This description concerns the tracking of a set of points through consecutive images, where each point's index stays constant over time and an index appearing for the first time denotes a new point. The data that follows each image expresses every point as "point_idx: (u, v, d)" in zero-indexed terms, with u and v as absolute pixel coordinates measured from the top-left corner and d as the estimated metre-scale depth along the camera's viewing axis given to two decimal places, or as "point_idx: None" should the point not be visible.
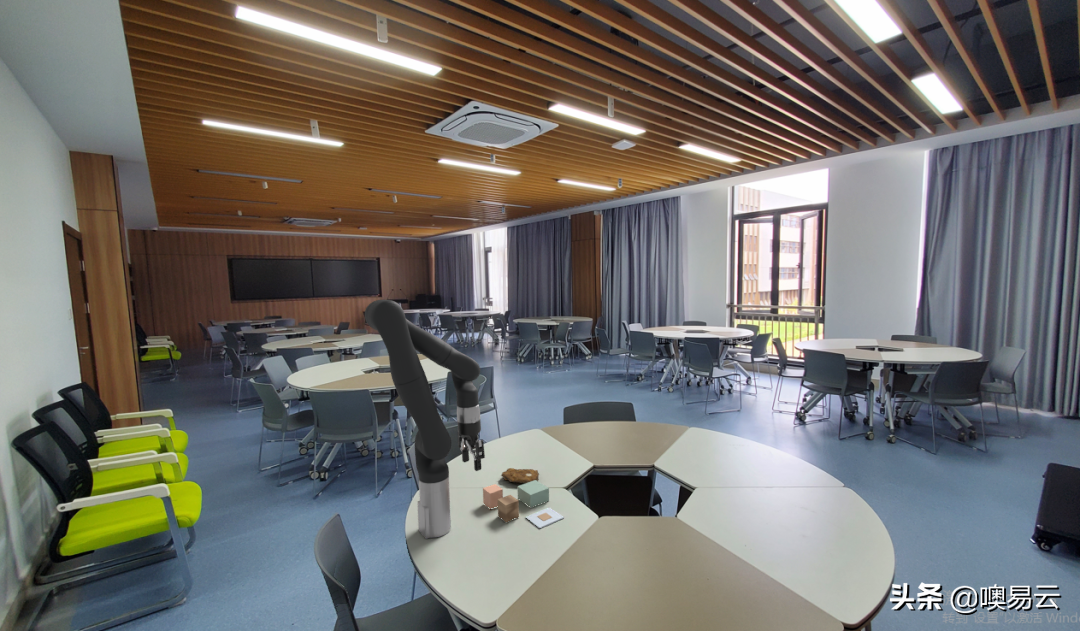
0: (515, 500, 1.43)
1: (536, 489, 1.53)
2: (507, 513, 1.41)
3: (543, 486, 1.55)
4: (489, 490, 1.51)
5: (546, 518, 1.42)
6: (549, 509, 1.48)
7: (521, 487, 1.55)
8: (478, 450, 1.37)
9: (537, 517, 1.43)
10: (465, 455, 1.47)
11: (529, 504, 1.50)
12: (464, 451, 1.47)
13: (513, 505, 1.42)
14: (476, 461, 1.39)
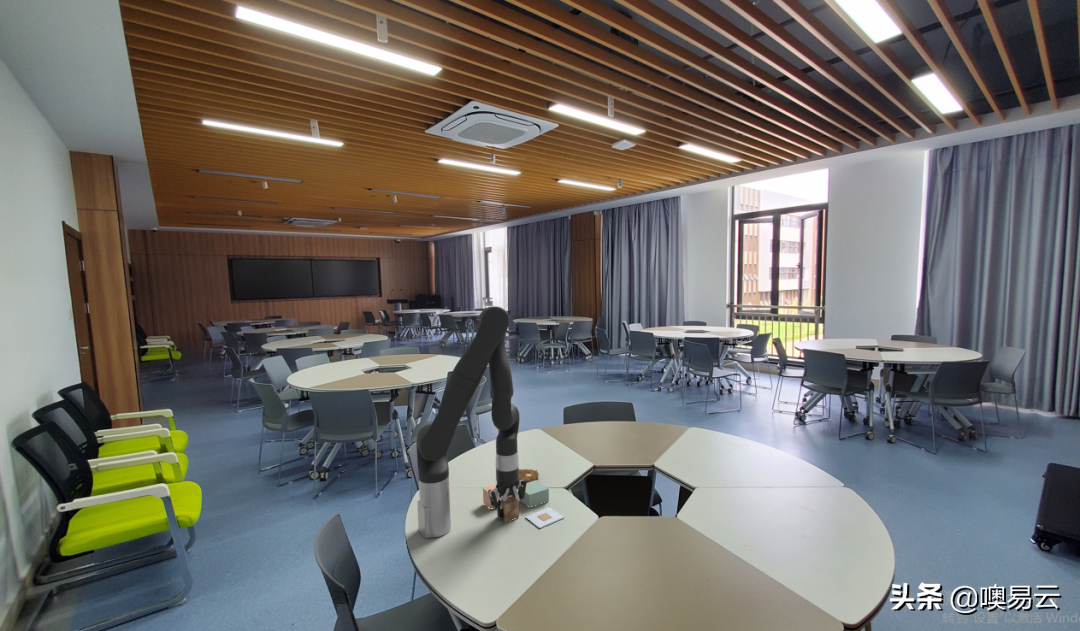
0: (515, 500, 1.43)
1: (536, 489, 1.53)
2: (506, 513, 1.41)
3: (543, 486, 1.55)
4: None
5: (546, 518, 1.42)
6: (549, 509, 1.48)
7: None
8: None
9: (537, 517, 1.43)
10: None
11: (528, 504, 1.50)
12: None
13: (513, 505, 1.42)
14: None
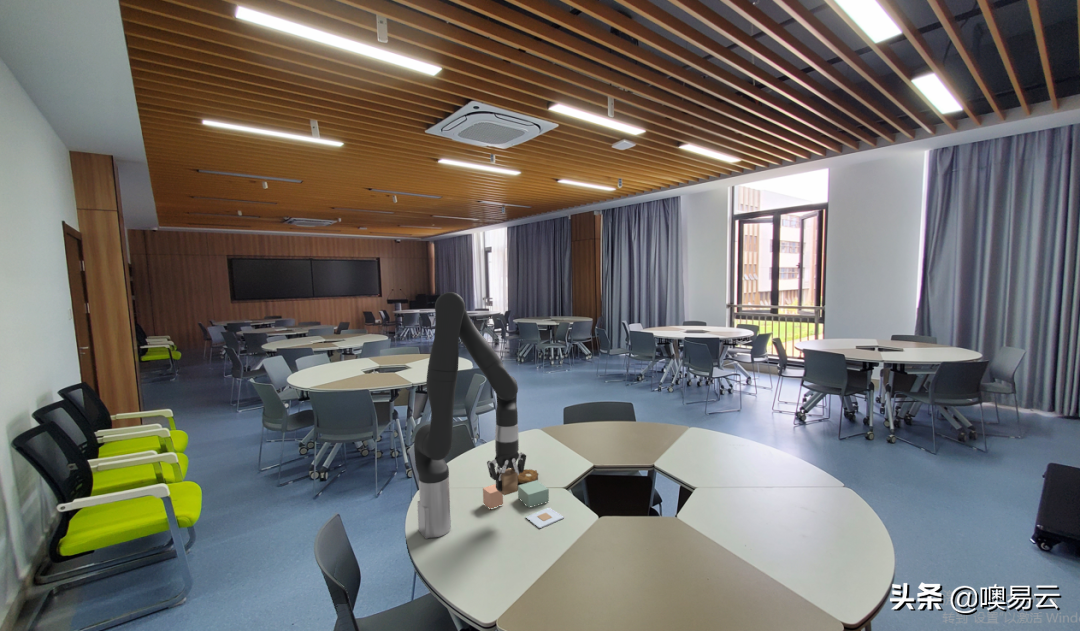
0: (514, 473, 1.42)
1: (536, 489, 1.53)
2: (505, 485, 1.39)
3: (543, 487, 1.55)
4: (489, 490, 1.51)
5: (546, 518, 1.42)
6: (549, 509, 1.48)
7: (521, 486, 1.55)
8: None
9: (537, 517, 1.43)
10: None
11: (527, 504, 1.50)
12: None
13: (512, 478, 1.41)
14: None
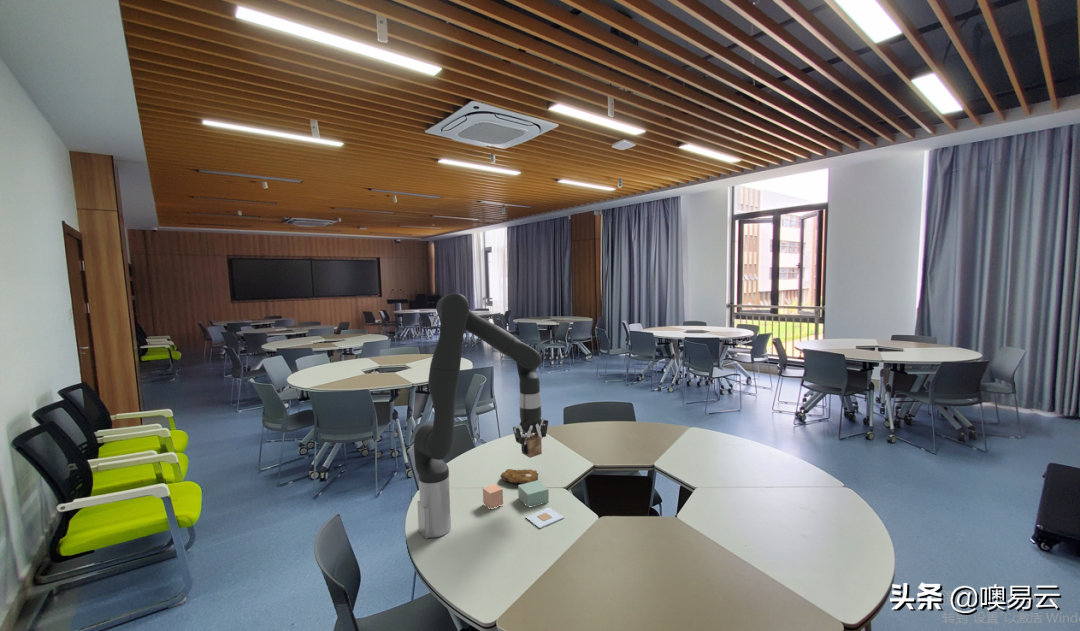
0: (538, 437, 1.52)
1: (536, 489, 1.53)
2: (530, 448, 1.50)
3: (543, 487, 1.55)
4: (489, 490, 1.51)
5: (546, 518, 1.42)
6: (549, 509, 1.48)
7: (521, 486, 1.55)
8: None
9: (537, 517, 1.43)
10: None
11: (527, 504, 1.50)
12: None
13: (536, 442, 1.51)
14: None
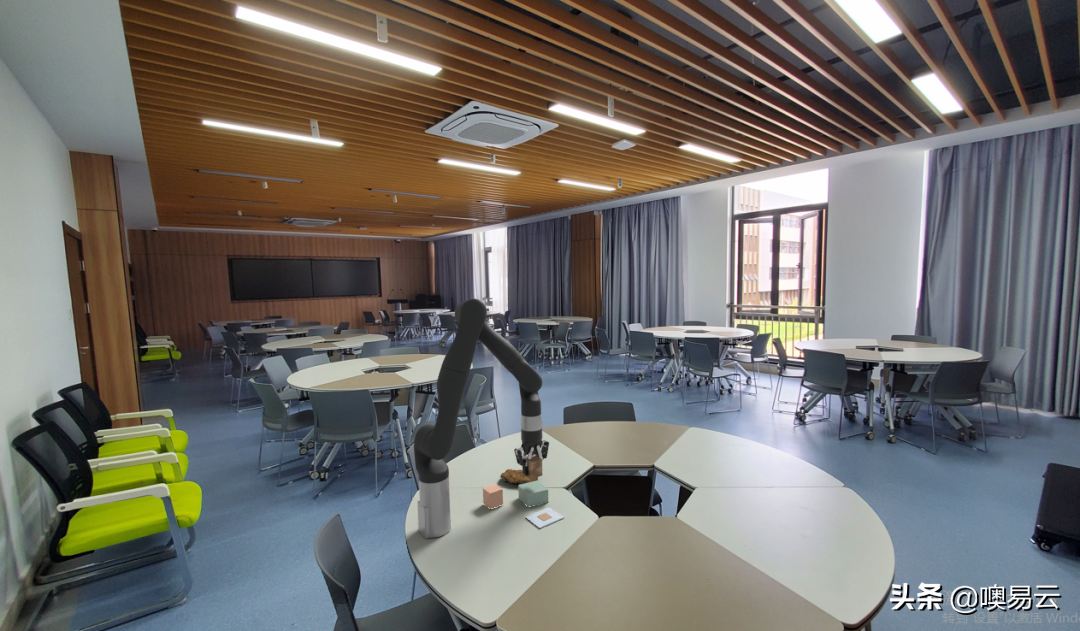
0: (539, 459, 1.54)
1: (535, 489, 1.53)
2: (531, 470, 1.51)
3: (543, 487, 1.54)
4: (489, 490, 1.51)
5: (546, 518, 1.42)
6: (549, 509, 1.48)
7: (521, 486, 1.55)
8: None
9: (537, 517, 1.43)
10: None
11: (526, 504, 1.50)
12: None
13: (537, 463, 1.52)
14: None
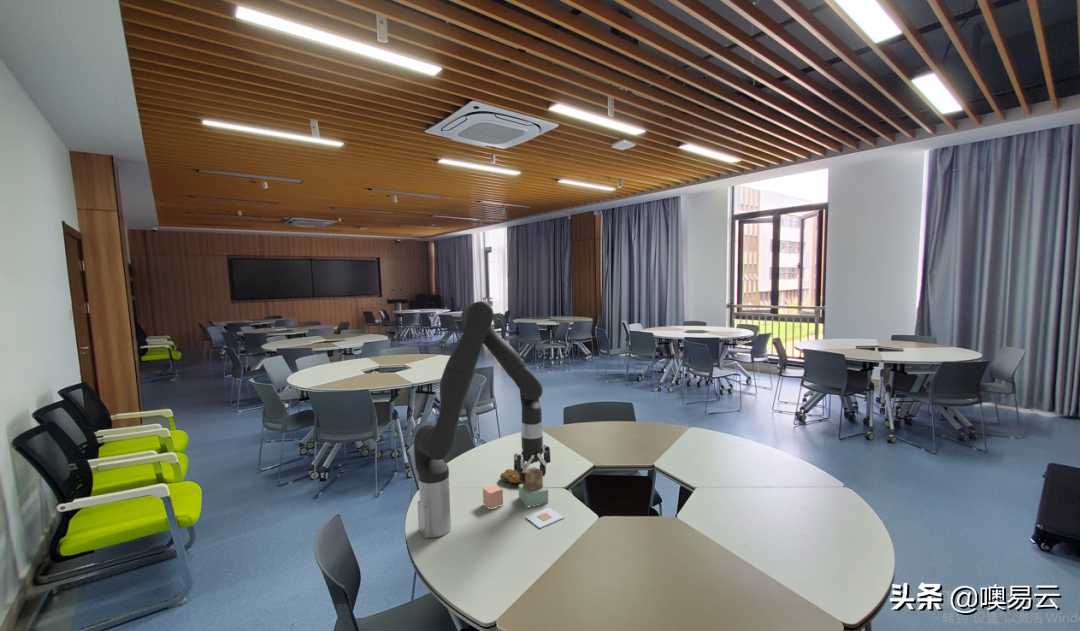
0: (539, 471, 1.54)
1: (535, 490, 1.53)
2: (532, 482, 1.51)
3: (543, 487, 1.54)
4: (489, 490, 1.51)
5: (546, 518, 1.42)
6: (549, 509, 1.48)
7: (521, 486, 1.56)
8: None
9: (537, 517, 1.43)
10: None
11: (526, 504, 1.50)
12: None
13: (537, 476, 1.53)
14: (544, 466, 1.56)
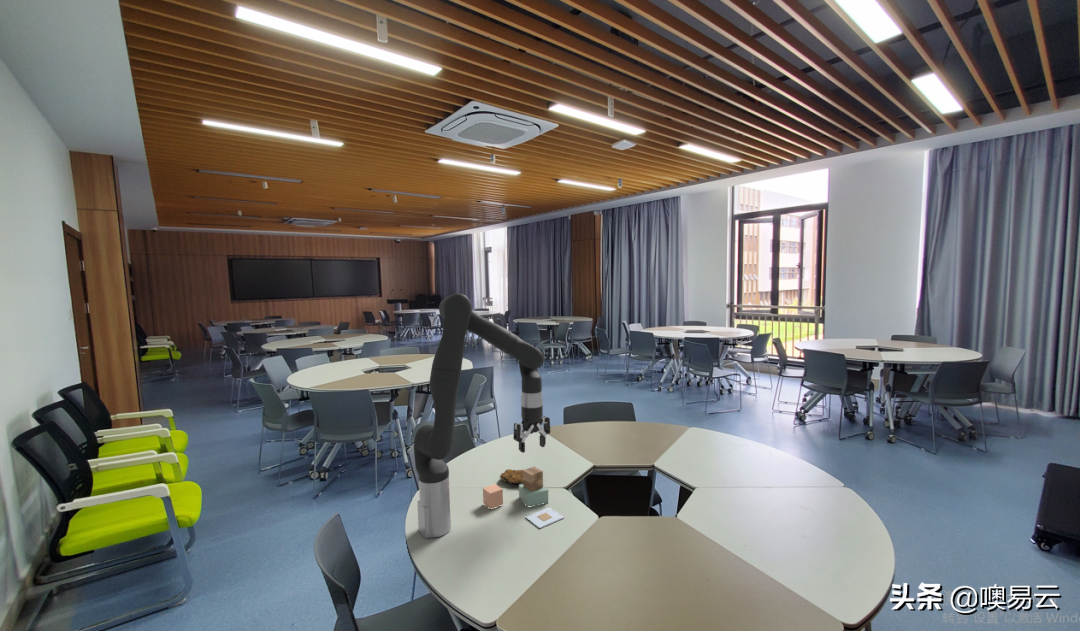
0: (539, 471, 1.54)
1: (535, 490, 1.53)
2: (532, 482, 1.51)
3: (543, 487, 1.54)
4: (489, 490, 1.51)
5: (546, 518, 1.42)
6: (549, 509, 1.48)
7: (522, 486, 1.56)
8: None
9: (537, 517, 1.43)
10: None
11: (526, 504, 1.50)
12: None
13: (538, 475, 1.53)
14: (544, 437, 1.55)
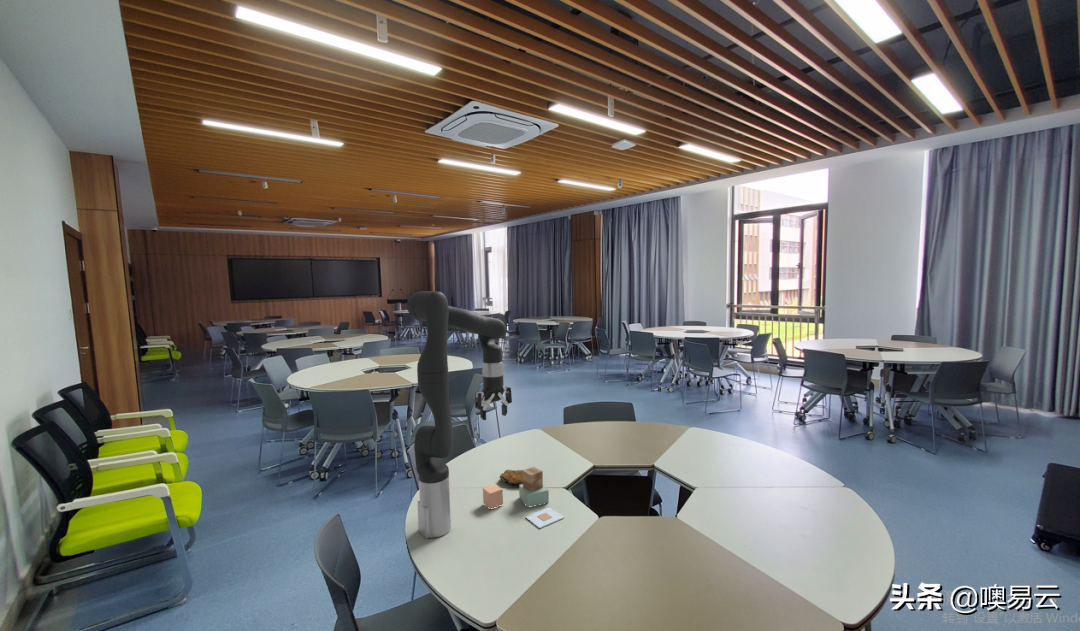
0: (539, 471, 1.54)
1: (536, 490, 1.52)
2: (532, 483, 1.51)
3: (544, 488, 1.54)
4: (489, 490, 1.51)
5: (546, 518, 1.42)
6: (549, 509, 1.48)
7: (522, 486, 1.55)
8: None
9: (537, 517, 1.43)
10: None
11: (526, 504, 1.50)
12: None
13: (538, 476, 1.53)
14: (506, 406, 1.62)
